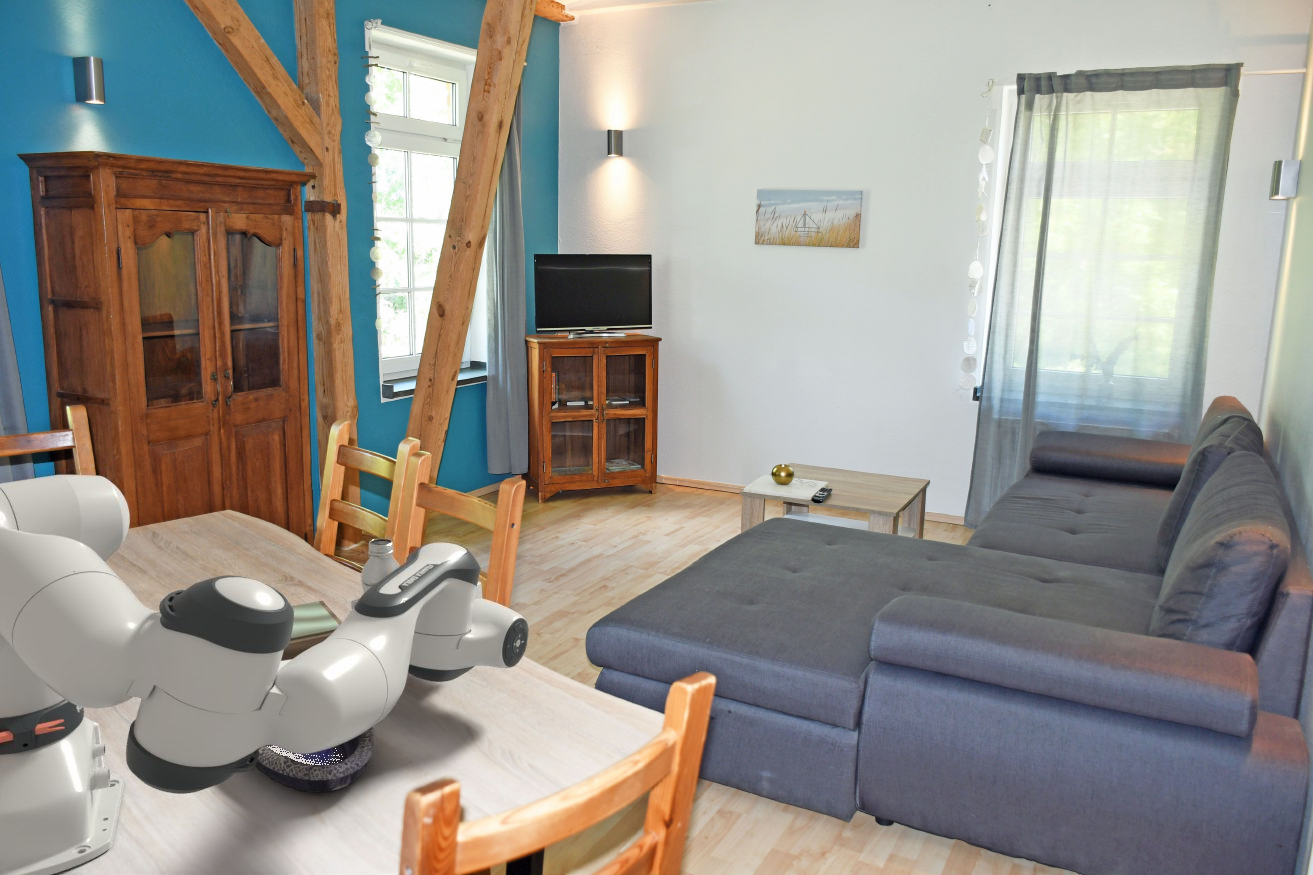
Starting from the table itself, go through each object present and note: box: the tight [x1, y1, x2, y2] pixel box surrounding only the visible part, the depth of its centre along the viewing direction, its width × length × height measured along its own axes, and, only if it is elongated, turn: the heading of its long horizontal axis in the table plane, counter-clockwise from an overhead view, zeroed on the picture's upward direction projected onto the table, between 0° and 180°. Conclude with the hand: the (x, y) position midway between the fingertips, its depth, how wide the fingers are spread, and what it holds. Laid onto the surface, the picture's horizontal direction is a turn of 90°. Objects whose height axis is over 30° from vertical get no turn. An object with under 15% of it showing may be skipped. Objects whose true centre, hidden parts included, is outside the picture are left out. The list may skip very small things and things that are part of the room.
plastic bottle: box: [360, 538, 401, 594], centre depth 153 cm, size 6×7×20 cm
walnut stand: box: [281, 600, 343, 661], centre depth 162 cm, size 16×14×3 cm
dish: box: [254, 727, 375, 793], centre depth 128 cm, size 16×31×5 cm, turn 38°
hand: (379, 595), depth 153 cm, fingers open, 8 cm apart
